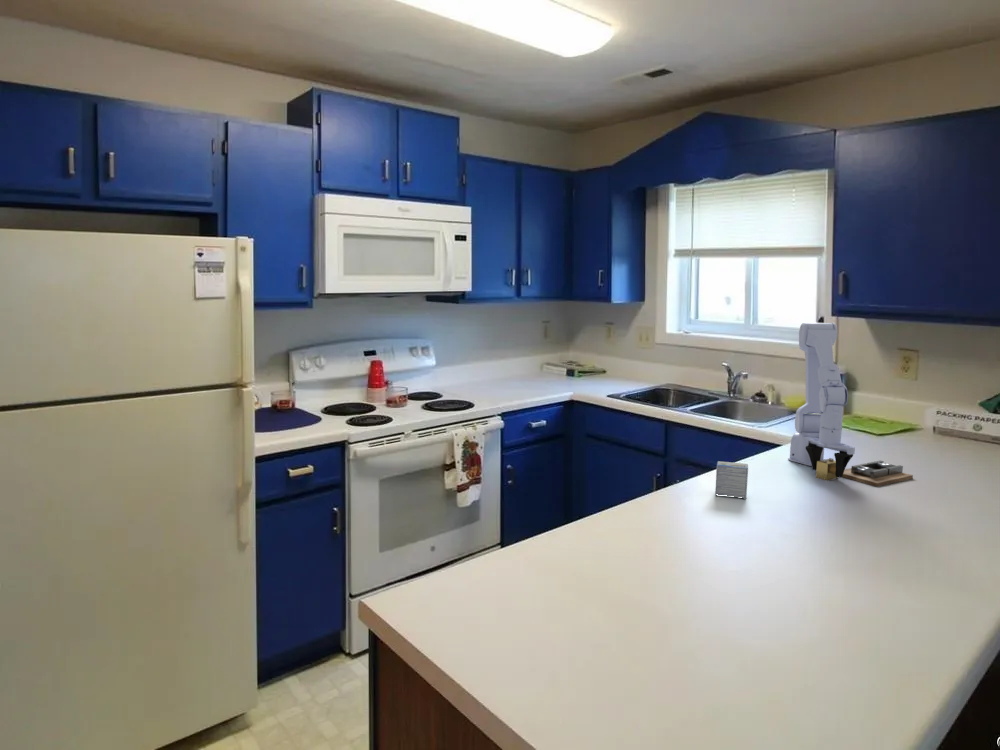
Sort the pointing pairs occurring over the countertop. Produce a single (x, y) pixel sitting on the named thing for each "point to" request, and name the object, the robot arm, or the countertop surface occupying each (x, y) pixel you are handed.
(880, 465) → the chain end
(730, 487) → the medicine box
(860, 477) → the chain board
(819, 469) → the brass block with studs
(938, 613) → the countertop surface
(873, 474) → the chain end
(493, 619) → the countertop surface
